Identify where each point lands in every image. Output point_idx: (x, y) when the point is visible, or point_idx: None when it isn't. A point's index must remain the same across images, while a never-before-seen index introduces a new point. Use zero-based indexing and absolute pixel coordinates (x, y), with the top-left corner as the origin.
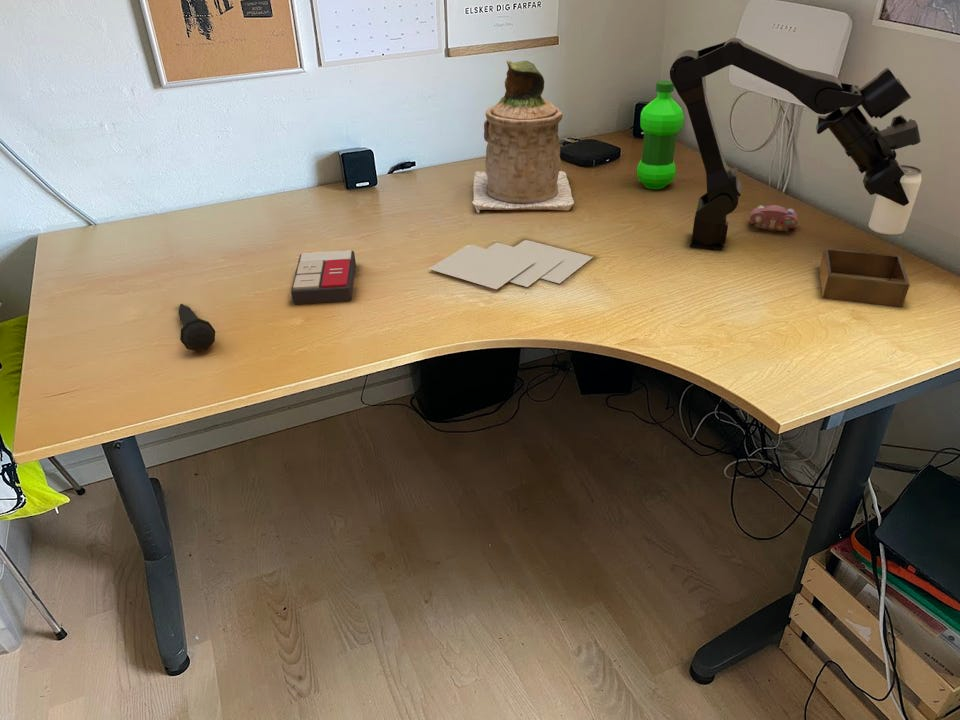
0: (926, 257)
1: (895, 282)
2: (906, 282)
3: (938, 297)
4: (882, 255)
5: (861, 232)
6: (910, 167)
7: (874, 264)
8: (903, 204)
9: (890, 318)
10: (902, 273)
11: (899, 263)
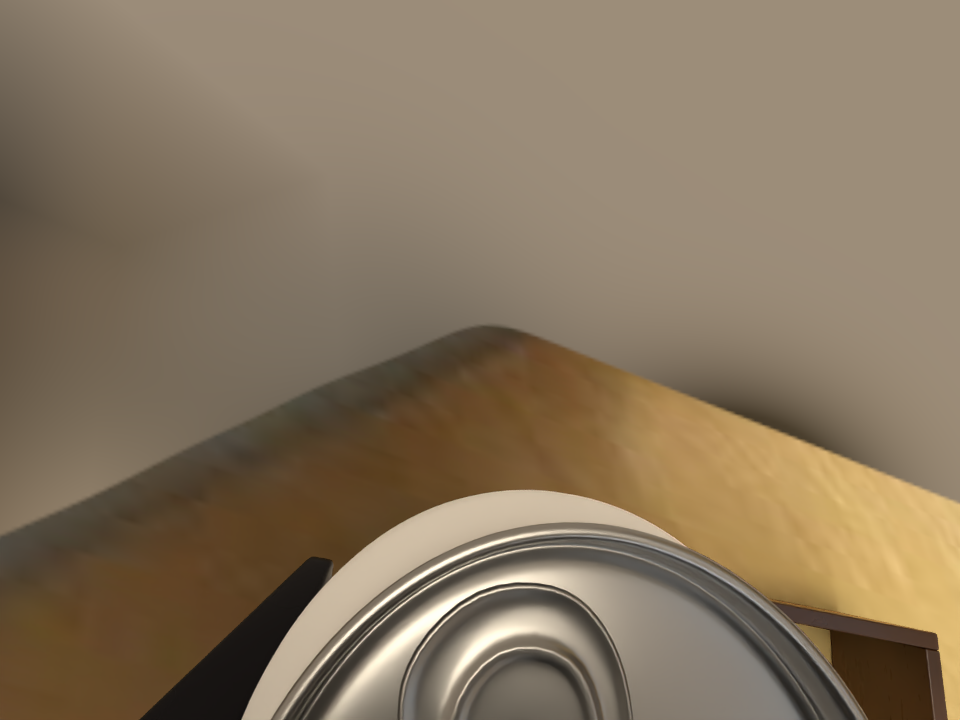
0: (399, 367)
1: (937, 698)
2: (922, 643)
3: (729, 451)
4: None
5: (94, 568)
6: (341, 663)
7: None
8: None
9: None
10: (831, 629)
11: None
